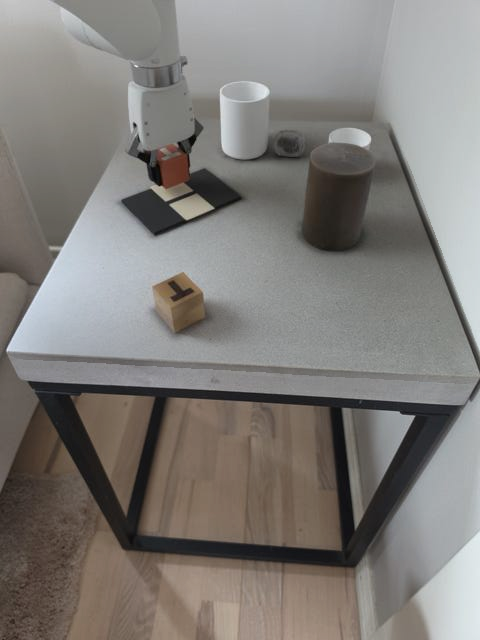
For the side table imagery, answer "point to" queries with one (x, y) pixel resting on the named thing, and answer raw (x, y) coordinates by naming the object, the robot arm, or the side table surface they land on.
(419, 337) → the side table surface
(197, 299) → the maple block
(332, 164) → the pillar candle
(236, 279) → the side table surface
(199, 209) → the word mat
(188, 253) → the side table surface
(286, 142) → the fossil
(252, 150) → the mug
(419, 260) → the side table surface
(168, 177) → the terracotta block
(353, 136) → the cup
